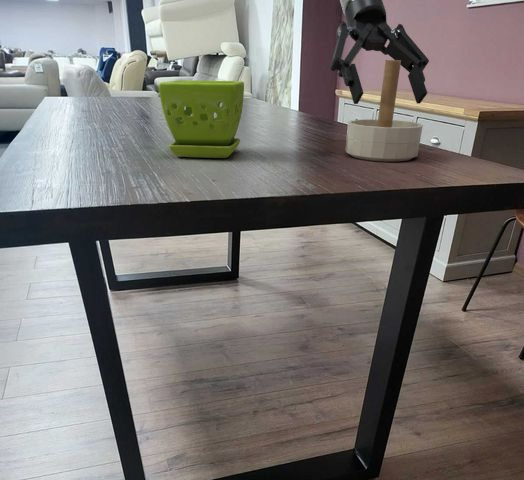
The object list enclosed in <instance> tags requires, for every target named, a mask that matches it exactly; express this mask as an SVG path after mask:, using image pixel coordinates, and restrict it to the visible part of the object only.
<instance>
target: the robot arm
mask: <svg viewBox="0 0 524 480" xmlns="http://www.w3.org/2000/svg"><path fill="white" fill-rule="evenodd" d="M339 2H340V5H341V9H342V12H343V16H344V20H345V21H344V20H343V21H342V20H341V21H340V23H339V26H338V27H337V30H336V32H335V38H336V44H335V47H334V52H333V55H332V59H331V62H330V66H329V69H330V71H332V72H335V71H338V73H337V75H338V77H339V78H342V79H343V83H344V85H345V87H348V88H349V92H350V95H351V99H352V102H353V104H354V105H359V103H360V101H361V99H362V98H363V95H364V90H363V86H362V82H361V79H360V76H359V72H358V70H357V66H356V63H353V62H354V60H355V59H356V57H357V55H358V54H359V53H360V52H361V50H362V49H363V50H365V52H371V51H375V52H381V54H383V55H385V56H387V55H388V56H389V57H390V58H391V59H392V60H401V65H400V67H402V68H403V69H405V70H406V71H407V72H408V74H407V78H408V81H409V85H410V87H411V90H412V94H413V97H414V99H415V102H416V104H421V103H422V102H423V100H424V99H425V98H426V96H427V95H428V90H427V87H426V84H425V82H426V77H425V74H424V70H425V68H426V67H427V66H428V64H429V63H430V59H429V58H428V57H427V56H426V54H425V53H424V52H423V51H422V49H420V48H419V46H418V45H417V44H416V43H415V41H413V39H412V38H411V37H410V35H409V34H408V33H407V31H406V29H405V27H404V25H403V24H401V23H398V24H397V26H396V27H391V26H390V25H389V24H388V22H387V10H386V7H385V4H384V1H383V0H339ZM349 37H350V38H351V39H352V40H353V41H354V42H355V43H354V44H353V46H352V48H351V49H350V50H349V52H348V54H347V55H346V56H345V58H344V59H342V57H343V52H344V48H345V45H346V41H347V39H348V38H349ZM388 41H389V42H388ZM387 42H388V44H387ZM386 44H387V46H386Z"/></svg>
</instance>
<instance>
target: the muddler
mask: <svg viewBox="0 0 524 480" xmlns="http://www.w3.org/2000/svg"><path fill="white" fill-rule="evenodd" d="M384 62H385V63H384V69H383V76H382V84H381V92H380V99H379V107H378V116H377V119H378V123H377V127H392V121H393V120H394V112H395V107H396V100H397V99H396V98H397V93H398V85H399V79H400V78H399V77H400V71H401V60H394V59H385V60H384Z"/></svg>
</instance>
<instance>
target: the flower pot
mask: <svg viewBox="0 0 524 480" xmlns="http://www.w3.org/2000/svg"><path fill="white" fill-rule="evenodd" d="M158 93H159V99H160V104H161V108H162V112H163V116H164V119H165V121H166V125H167V127H168V129H169V131H170V134H171V135H172V137H173V140H174V141H173V142H172V143H169V144H168V147H169V150H170V151H171V152H172V154H173V155H175V156H176V158H201V159H202V158H204V159H205V158H207V159H227V158H228V157H230V155H232V153H233V152H235V150H236V149H237V148H238V146H239V145H240V143H241V139H240V138H238V137H236V135H237V132H238V129H239V125H240V123H241V122H240V121H241V117H242V112H243V107H244V98H245V95H244V94H245V82H244V81H243V80H168V81H167V80H166V81H161V82H159V83H158ZM215 114H216V117H215Z"/></svg>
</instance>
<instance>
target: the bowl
mask: <svg viewBox="0 0 524 480" xmlns="http://www.w3.org/2000/svg"><path fill="white" fill-rule="evenodd" d="M377 123H378V118H376V119H375V118H374V119H373V118H371V119H369V118H367V119H353V120H349V121H347V129H346V138H345V149H344V150H345V151H344V152H346V154H349V156H351V157H352V158H355V159H360V160H364V161H374V162H406V161H410V160H412V159H414V158H417V157H418V155H419V151H420V145H421V139H422V134H423V128H424V125H423V124H422V123H419V122H415V121H409V120H397V119H393V121H392V127H377Z"/></svg>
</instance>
